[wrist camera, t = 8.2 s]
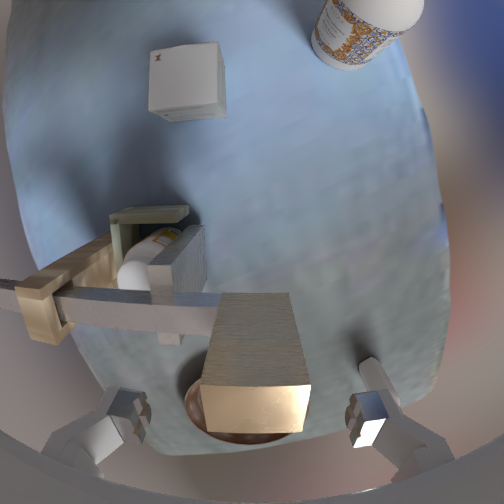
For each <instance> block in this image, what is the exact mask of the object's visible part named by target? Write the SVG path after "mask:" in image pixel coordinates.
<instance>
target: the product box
mask: <svg viewBox="0 0 504 504" xmlns="http://www.w3.org/2000/svg"><path fill="white" fill-rule="evenodd" d="M148 111H149V112H152V113H154V114H156V115H158V116H160V117H161V118H163V119H165V120H167V121H169V122H179V121H186V120H196V119H213V118H226V88H225V66H224V61H223V57H222V54H221V50H220V47H219V42H208V43H199V44H187V45H180V46H176V47H170V48H164V49H158V50H153V51H151V52H150V61H149V85H148Z"/></svg>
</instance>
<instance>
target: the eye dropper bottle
mask: <svg viewBox="0 0 504 504" xmlns="http://www.w3.org/2000/svg"><path fill="white" fill-rule="evenodd" d="M359 373H360V376H361V378H362V380H363V383H364V385H365V387H366V389H367V392H368V391H375V390H380V389H386V388H387V389H388V390H389V392H390V394H391V396H392V398H393V400H394V402H395V404H396V406H397V408H398V410H399V412H400V414H401V415H404V414H403V412H402V410H401V408H400V399H399V396H398V394H397V392H396V390H395V388H394V387H393V385H392V383H391V381H390V379H389V378H388V376H387V374H386V372H385V370H384V369H383V367H382V365H381V363H380V362H379V361H378V360H377V359H375V358H374V357H370V358H368V359H366V360H364V361H363V362H361V363H360V364H359Z"/></svg>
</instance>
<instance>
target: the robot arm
mask: <svg viewBox="0 0 504 504" xmlns="http://www.w3.org/2000/svg"><path fill="white" fill-rule="evenodd" d="M146 399H147V397H146V394H145V392H142V391H137V390H131V389H127V388H122V387H116V386H112V385H111V386H109V387H108V389H107V390H106V392H105V394H104V396H103V398H102V400H101V401H100V403H99V405H98V407H97V409H96V410H95V411H91V412H89V413H87V414H86V415H84V416H82V417H80V418H78V419H77V420H75V421H73V422H71V423H69V424H67V425H65V426H64V427H62V428H60V429H58V430H56V431H54V432H52V434H51V436H50V438H49V439H48V441H47V442H46V444H45V446H44V448H43V450H42V451H41V453H40V452H38V451H36V450H34V449H32V448H30V447H28V446H27V445H25V444H23V443H21V442H20V441H18V440H16V439H14V438H13V437H11V436H9V435H8V434H6V433H4V432H3V431H1V430H0V504H504V433H503V434H501V435H500V436H498V437H497V438H495V439H493V440H491V441H490V442H488V443H486V444H485V445H483V446H481V447H479V448H477V449H475V450H473V451H471V452H469V453H468V454H465V455H463V456H461V457H459V458H457V459H455V458H454V456H453V454H452V452H451V450H450V448H449V446H448V444H447V442H446V440H445V438H443V437H441V436H440V435H438V434H436V433H434V432H433V431H431V430H429V429H427V428H426V427H424V426H422V425H421V424H419V423H417V422H415V421H414V420H412V419H411V418H409V417H407V416H406V415H401V414H400V412H399V410H398V408H397V406H396V404H395V402H394V400H393V398H392V396H391V394H390V392H389V390H388V389H387V388H386V389H380V390H375V391H368V392H361V393H355V394H352V395H351V397H350V403H351V404H350V405H349V406H348V407H347V409H346V412H345V422H346V426H347V428H348V429H349V430H351V434H350V440H351V442H352V446H353V448H357V447H363V446H368V445H372V446H373V447H374V448H375V449H376V450H378V451H379V452H380V453H381V454H382V455H383V456H384V457H386V458H387V459H388V460H389V461H390V462H391V463H393V464H394V465H395V466H396V467H397V468H399V471H398V472H397V473H396V474H395V475H394V476H393V478H392V479H391V482H392V483H391V484H387V485H383V486H380V487H376V488H372V489H368V490H364V491H359V492H354V493H350V494H344V495H338V496H333V497H327V498H319V499H310V500H301V501H289V502H269V503H268V502H265V503H245V502H222V501H208V500H200V499H191V498H184V497H177V496H171V495H166V494H161V493H155V492H151V491H146V490H142V489H138V488H134V487H130V486H126V485H122V484H119V483H116V482H112V481H109V480H106V479H103V477H104V475H103V473H102V472H101V470H100V469H99V468H98V467H97V466H96V465H97V464H98V463H99V462H100V461H102V460H103V459H104V458H105V457H107V456H108V455H109V454H110V453H112V452H113V451H114V450H115V449H116V448H118V447H119V446H120V445H121V444H122V443H124V442H129V443H134V444H139V445H143V442H144V439H145V436H146V431H145V429H144V428H146V427H147V426H149V424H150V421H151V408H150V405H149V404H148V403H147V402H146ZM123 441H124V442H123Z"/></svg>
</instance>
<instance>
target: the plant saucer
mask: <svg viewBox="0 0 504 504" xmlns="http://www.w3.org/2000/svg"><path fill="white" fill-rule="evenodd" d="M200 380H201V378H200V379H198V380H197V381H196V382H194V383H193V384H192V385H191V387H190V388H189V389H188V391H187V393H186V395H185V399H184V407H185V411H186V414H187V416H188V418H189V419H190V421H191V422H192V423H193V424H194V425H195V427H196V428H198V429H199V430H200V431H202V432H203V433H205V434H206V435H208V436H210V437H212V438H214V439H217V440H219V441H222V442H226V443H231V444H237V445H261V444H267V443H271V442H275V441H277V440H280V439H283V438H285V437H287V436H289V435H290V434H292V433H293V432H290V433H224V432H209V431H207V426H206V421H205V415H204V409H203V403H202V397H201V391H200ZM308 412H309V400H308V403H307V408H306V413H305V418H304V421H305V419H306V417H307V415H308Z"/></svg>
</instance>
